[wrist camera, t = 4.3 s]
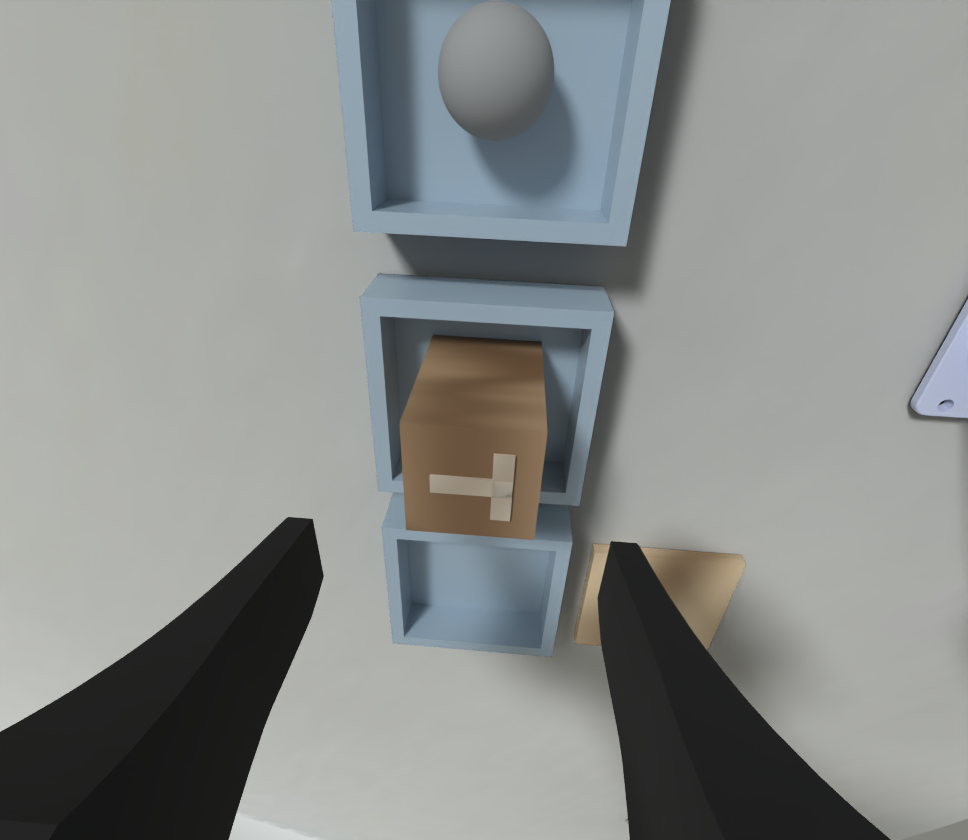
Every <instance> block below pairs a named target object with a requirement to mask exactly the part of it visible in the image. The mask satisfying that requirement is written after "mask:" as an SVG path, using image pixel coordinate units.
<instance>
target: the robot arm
mask: <svg viewBox="0 0 968 840" xmlns="http://www.w3.org/2000/svg"><path fill="white" fill-rule="evenodd" d="M944 400H946V401H945V402H944V403H943V404H941V405H939V404H940V403H941V402H942V401H944ZM910 404H911V408H913V409H914V410H915V411H916V412H917V413H918V414H920V415H925V416H940V417H955V418H968V300H967V301H966V303H965V305H964V307H963V309H962V310H961V312H960V314H959V316H958V317H957V319H956V321H955V323H954V325H953V326H952V328H951V330H950V332H949V334H948V335H947V337H946V339H945V341H944V342H943V344H942V346H941V348H940V350H939V351H938V353H937V355H936V357H935V359H934V360H933V362H932V364H931V366H930V368H929V369H928V371H927V373H926V375H925V376H924V378H923V380H922V382H921V384H920V385H919V387H918V389H917V391H916V393H915V394H914V396H913V398H912V400H911V403H910ZM938 405H939V406H938ZM323 577H324V576H323V571H322V565H321V560H320V555H319V550H318V544H317V539H316V534H315V529H314V524H313V519H306V518H293V517H288V518H286V519H285V520H284V521H283V522H282V523H281V524H280V525H279V526H278V527H277V528H276V529H275V530H274V531H272V532H271V533H270V534H269V535H268V536H267V537H266V538H265V539H264V540H263V541H262V542H261V543H260V544H259V545H258V546H257V547H256V548H255V549H254V550H253V551H252V552H251V553H250V554H248V555H247V556H246V557H245V558H244V559H243V560H242V561H241V562H240V563H239V564H238V565H237V566H236V567H234V568H233V569H232V570H231V571H230V572H229V573H228V574H227V575H226V576H225V577H223V578H222V579H221V580H220V581H219V582H218V583H217V584H216V585H215V586H214V587H212V588H211V589H210V590H209V591H208V592H207V593H205V594H204V595H203V596H202V597H201V598H199V599H198V600H197V601H196V602H195V603H193V604H192V605H191V606H190V607H189V608H188V609H186V610H185V611H184V612H183V613H182V614H180V615H179V616H178V617H177V618H175V619H174V620H173V621H172V622H170V623H169V624H168V625H166V626H165V627H164V628H163V629H161V630H160V631H159V632H157V633H156V634H155V635H153V636H152V637H151V638H149V639H148V640H147V641H145V642H144V643H142V644H141V645H140V646H138V647H137V648H136V649H134V650H133V651H131V652H130V653H129V654H127V655H126V656H124V657H123V658H121V659H120V660H118V661H117V662H115V663H114V664H112V665H111V666H109V667H108V668H106V669H104V670H103V671H101V672H100V673H98V674H97V675H95V676H94V677H92V678H91V679H89V680H88V681H86V682H85V683H83V684H82V685H80V686H79V687H77V688H75V689H74V690H72V691H70V692H69V693H67V694H65V695H64V696H62V697H60V698H59V699H57V700H55V701H54V702H52V703H50V704H49V705H47V706H45V707H44V708H42V709H40V710H38V711H37V712H35V713H33V714H31V715H30V716H28V717H26V718H24V719H23V720H21V721H19V722H17V723H16V724H14V725H12V726H10V727H8V728H7V729H5V730H3V731H1V732H0V840H228V839H229V836H230V833H231V829H232V826H233V822H234V819H235V816H236V813H237V809H238V806H239V803H240V800H241V797H242V793H243V790H244V787H245V784H246V781H247V777H248V774H249V771H250V768H251V765H252V762H253V759H254V756H255V753H256V750H257V747H258V744H259V741H260V738H261V735H262V732H263V729H264V726H265V724H266V721H267V719H268V716H269V714H270V711H271V709H272V706H273V704H274V702H275V699H276V697H277V695H278V693H279V690H280V688H281V686H282V683H283V681H284V679H285V677H286V674H287V672H288V670H289V668H290V665H291V663H292V661H293V659H294V656H295V654H296V652H297V649H298V647H299V645H300V643H301V640H302V638H303V636H304V633H305V631H306V629H307V626H308V624H309V622H310V619H311V617H312V614H313V611H314V607H315V604H316V601H317V598H318V594H319V591H320V587H321V584H322V580H323ZM597 600H598V614H599V628H600V639H601V645H602V651H603V656H604V662H605V667H606V672H607V678H608V683H609V688H610V693H611V699H612V704H613V709H614V714H615V719H616V725H617V730H618V735H619V741H620V748H621V754H622V762H623V771H624V781H625V791H626V801H627V812H628V823H629V834H630V840H890V839H889V838H888V837H887V836H886V835H884V834H883V833H882V832H881V831H880V830H879V829H877V828H876V827H875V826H874V825H873V824H872V823H870V822H869V821H868V820H867V819H866V818H865V817H863V816H862V815H861V814H860V813H859V812H858V811H856V810H855V809H854V808H853V807H852V806H851V805H850V804H849V803H848V802H847V801H845V800H844V799H843V798H842V797H841V796H840V795H839V794H838V793H837V792H836V791H835V790H834V789H833V788H832V787H830V786H829V785H828V784H827V783H826V782H825V781H824V780H823V779H822V778H821V777H820V776H819V775H818V774H817V773H816V772H815V771H814V770H813V769H812V768H811V767H810V766H809V765H808V764H807V763H806V762H805V761H804V760H803V759H802V758H801V757H800V756H799V755H798V754H797V753H796V752H795V751H794V750H793V749H792V748H791V747H790V746H789V745H788V744H787V743H786V742H785V741H784V740H783V739H782V738H781V737H780V736H779V735H778V734H777V733H776V732H775V731H774V730H773V729H772V727H771V726H770V725H769V724H768V723H767V722H766V721H765V720H764V719H763V717H762V716H761V715H760V714H759V713H758V712H757V711H756V710H755V709H754V707H753V706H752V705H751V704H750V703H749V702H748V701H747V699H746V698H745V697H744V696H743V695H742V694H741V692H740V691H739V690H738V689H737V688H736V687H735V685H734V684H733V683H732V682H731V680H730V679H729V678H728V677H727V676H726V674H725V673H724V672H723V671H722V669H721V668H720V667H719V665H718V664H717V663H716V662H715V660H714V659H713V658H712V656H711V655H710V654H709V652H708V651H707V650H706V648H705V647H704V646H703V644H702V643H701V642H700V640H699V639H698V637H697V636H696V635H695V633H694V632H693V630H692V629H691V628H690V626H689V625H688V623H687V622H686V620H685V619H684V617H683V616H682V614H681V613H680V611H679V610H678V608H677V607H676V605H675V604H674V602H673V601H672V599H671V598H670V596H669V595H668V593H667V592H666V590H665V588H664V587H663V585H662V583H661V582H660V580H659V579H658V577H657V575H656V574H655V572H654V570H653V569H652V567H651V565H650V564H649V562H648V560H647V558H646V557H645V555H644V553H643V551H642V549H641V548H640V546H639V545H638V544H637V543H626V542H613V541H611V543H610V547H609V551H608V555H607V560H606V564H605V568H604V572H603V576H602V581H601V585H600V589H599V593H598V598H597Z"/></svg>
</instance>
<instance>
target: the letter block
mask: <svg viewBox="0 0 968 840" xmlns="http://www.w3.org/2000/svg"><path fill="white" fill-rule="evenodd" d="M400 440H401V456H402V472H403V489H404V505H405V522H406V530H410V531H423V532H436V533H449V534H462V535H475V536H488V537H501V538H514V539H527V540H534V537H535V529H536V521H537V513H538V505H539V497H540V489H541V481H542V473H543V465H544V457H545V449H546V441H547V417H546V400H545V384H544V368H543V352H542V341H526V340H510V339H494V338H478V337H462V336H446V335H433V336H432V339H431V341H430V344H429V347H428V349H427V352H426V355H425V357H424V360H423V362H422V365H421V368H420V370H419V373H418V376H417V378H416V381H415V383H414V386H413V389H412V391H411V394H410V397H409V399H408V402H407V404H406V407H405V410H404V412H403V415H402V417H401V420H400Z"/></svg>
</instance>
